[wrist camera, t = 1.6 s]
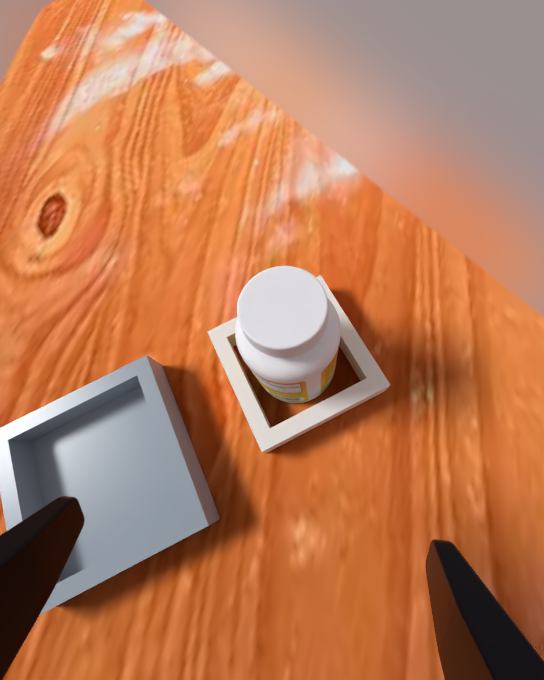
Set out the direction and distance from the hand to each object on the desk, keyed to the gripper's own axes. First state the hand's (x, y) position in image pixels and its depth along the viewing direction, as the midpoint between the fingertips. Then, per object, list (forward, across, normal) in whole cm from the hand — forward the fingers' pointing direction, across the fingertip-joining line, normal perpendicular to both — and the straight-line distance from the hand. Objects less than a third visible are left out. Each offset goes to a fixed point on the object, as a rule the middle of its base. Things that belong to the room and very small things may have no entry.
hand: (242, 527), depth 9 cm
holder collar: (+15, 0, +4) cm, 16 cm away
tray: (+10, +12, +10) cm, 18 cm away
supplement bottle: (+15, 0, +4) cm, 16 cm away
